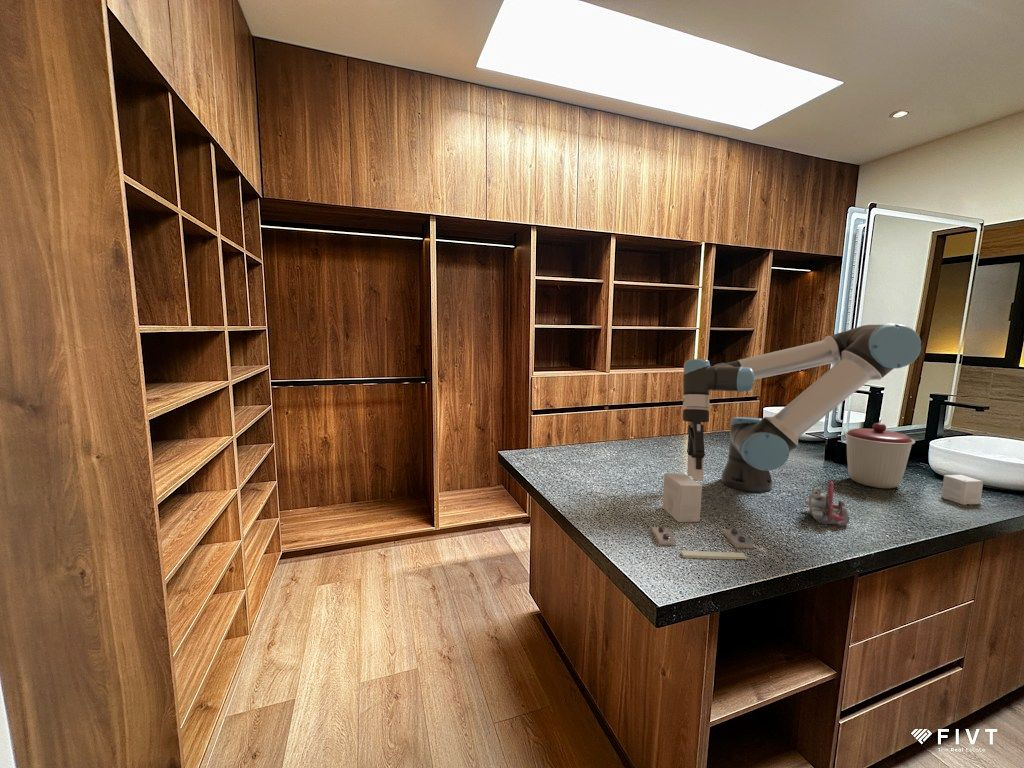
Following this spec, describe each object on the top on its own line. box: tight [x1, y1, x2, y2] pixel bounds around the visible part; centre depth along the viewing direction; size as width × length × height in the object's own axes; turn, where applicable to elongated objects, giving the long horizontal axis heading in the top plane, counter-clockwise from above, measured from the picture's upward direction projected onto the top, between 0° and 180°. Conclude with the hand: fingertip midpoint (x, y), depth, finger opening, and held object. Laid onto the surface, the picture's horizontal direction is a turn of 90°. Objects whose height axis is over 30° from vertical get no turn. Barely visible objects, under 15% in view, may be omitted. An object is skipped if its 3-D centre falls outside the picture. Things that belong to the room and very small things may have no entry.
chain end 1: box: [651, 526, 677, 546], centre depth 105 cm, size 4×7×2 cm, turn 176°
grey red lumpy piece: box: [804, 481, 850, 527], centre depth 116 cm, size 11×11×12 cm
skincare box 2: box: [941, 474, 984, 506], centre depth 129 cm, size 6×6×7 cm
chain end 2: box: [722, 528, 754, 549], centre depth 104 cm, size 4×7×2 cm, turn 176°
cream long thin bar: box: [680, 550, 748, 561], centre depth 97 cm, size 14×2×1 cm, turn 86°
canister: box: [844, 422, 916, 489], centre depth 143 cm, size 18×18×21 cm
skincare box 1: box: [661, 472, 703, 523], centre depth 119 cm, size 10×6×10 cm, turn 5°
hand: (694, 478), depth 128 cm, fingers open, 13 cm apart
